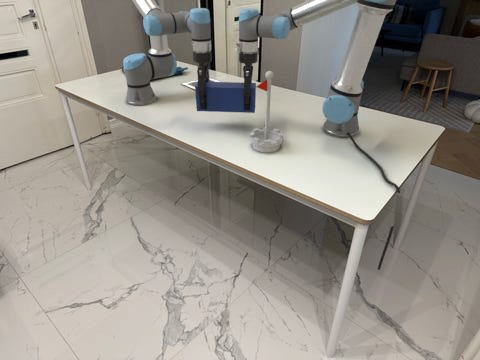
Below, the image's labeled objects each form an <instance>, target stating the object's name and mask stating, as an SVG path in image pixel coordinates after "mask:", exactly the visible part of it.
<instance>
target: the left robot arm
mask: <svg viewBox="0 0 480 360" xmlns="http://www.w3.org/2000/svg"><path fill="white" fill-rule="evenodd" d="M131 1H132V3H133V4H134V6H135V7H136V9H137V10H138V12H139V13H140V14H141V16H142V18H143V20H142V25H143V28H144V31H145V34H146V35H147V36H149V41H150V49H148V55H147V54H146V53H142V52H140V53H133V54H130V55H127V56H126V57H124V58H123V60H122V64H123V65H122V67H121V72H122V73H123V74H124V76H125V82H126V85H127V89H126V95H125V97H126V98H125V100H126V104H128V105H131V106H146V105H150V104H153V103H154V102H156V101H157V97H156V95H155V92H154V89H153V88H152V86H151V79H154V80H155V79H161V78H168V77H171V76H173V75H175V74H174V73H175V72H176V68H177V67H178V63H177V57H176V55H175V54H174V53H173V52H172V50H171V48H169V42H168V35H175V34H184V33H185V34H186V33H190V34H191V43H190V45H191V46H192V51H193V52H192V58H193V62H194V63H197V64H198V66H197V70H196V75H197V80H198V95H200V108H201V109H207V99H206V88H205V87H206V82H210V79H209V78H210V65H209V64H210V63H211V62H212V61H213V55H212V36H211V35H212V32H211V29H212V28H211V16H210V15H211V14H210V10H209V9H208V8H205V7H195V8H191V9H190V11H189V10H181V11H178V12H168V13H166V7H165V6H166V5H165V0H131Z"/></svg>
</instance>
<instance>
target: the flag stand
mask: <svg viewBox="0 0 480 360" xmlns="http://www.w3.org/2000/svg"><path fill="white" fill-rule="evenodd" d="M264 77H265V79H266V80H264V81H262V82H261V83H259V84H258V85H256V89H259V90H262V91H264V92H266V96H265V97H266V98H265V99H266V100H265V121H264V123H265V125H264V126H262V129H260V128H257V127H256V128H254V129H252V132H250V133H249V134H250V135H249V140H250V142H251V143H252V148H253V150H255V151H258V152H261V153H274V152H276V151H278V150H279V149H280V148H281V144H282V143H283V141H284V133H283V132H280V129H278V128H273V130H272V129H270V118H271V117H270V114H271V113H270V112H271V97H272V96H271V95H272V94H271V92H272V79H273V78H274V73H273V71H271V70H267V71H266V72H265V75H264Z"/></svg>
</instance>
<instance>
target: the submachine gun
mask: <svg viewBox="0 0 480 360" xmlns="http://www.w3.org/2000/svg"><path fill="white" fill-rule="evenodd" d="M187 70H189V68H188V67H181V66H177V68H176V72H175V73H174V75H177V74H183V73H184V72H185V71H187ZM150 81H155V79H150Z"/></svg>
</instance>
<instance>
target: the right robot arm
mask: <svg viewBox="0 0 480 360" xmlns="http://www.w3.org/2000/svg"><path fill="white" fill-rule="evenodd" d="M396 2H397V0H306V1H304V2H302V3H299V4H298V5H295V6H293V7H291V8H288V9H286V10H284V11H282V12H280V13H277V14H274V15H261V14H260V11H259V9H258V8H242V9H240V10H239V13H238V42H237V46H238V51H239V53H238V62H239V63H240V64H244V65H243V68H242V72H243V83H244V94H242V96H244V110H250V102H251V95H250V85H251V83H253V72H254V65H253V64H256V63H257V62H258V61H259V60H258V58H259V57H258V56H259V53H258V51H259V38H265V39H276V40H285V39H287V38H288V36H289V34H290V32H291V31H293V30H295V29H298V28H300V27H302V26H304V25H307V24H309V23H312V22H314V21H316V20H319V19H321V18H323V17H326V16H328V15H330V14H333V13H336V12H338V11H341V10H343V9H346V8H348V7H350V6H352V5H355V4H357V7H358V12H357V15H356V18H355V22H354V25H353V28H352V31H351V34H350V37H349V41H348V43H347V46H346V47H347V48H346V50H345V52H344V56H343V59H342V62H341V66H340V68H339V71H338V75H337V77H336V78H334V80H333V81H332V82H331V84H330V85H329V86H330V87H329V90H328V92H327V96H326V99H325V100H324V101H323V104H322V114H323V116H324V117H325V119H326V120H325V121H324V123H323V126H322V130H323V132H324V133H325V134H326V135H329V136H332V137H335V138H339V139H341V138H342V139H350V140H351V142H352V144H353V145H354V146H355V148H356V149H357V150H358V151H359V152H360V153H362V154H363V155H364V156H365V157H366V158H368V160H370V162H372V163H373V164H374V165H375V166H376V167H377V168H378V170H379V171H380V174H381V176H382V177H383V179H384V181H385V182H386V183H387V184H389V185H391V186H393V187H394V188H395V190H396V192H397V193H398V194H400V193H401V189H400V187H399V186H398V184H396V183H395V182H393V181H391V180H390V179H388V178H387V176H386V174H385V171H384V170H383V168H382V166H381V165H380V164H379V163H378V162H377V161H376V160H375V159H374V158H373V157H372V156H370V155H369V154H368V153H367V152H366V151H365V150H363V149H362V148H361V147H360V146H359V145H358V144H357V142H356V141H355V138H354V137H356V136H357V135H359V132H360V125H359V118H358V117H359V116H358V114H359V111H360V110H359V109H360V105H361V99H362V95H363V90H364V88H365V87H364V84H365V82H364V80H363V78H364V75H365V73H366V70H367V67H368V64H369V62H370V59H371V56H372V53H373V52H374V48H375V45H376V43H377V40H378V38H379V35H380V32H381V29H382V26H383V23H384V20H385V18H386V15H387V14H389V13H390V12H392V11H393V10H394V7H395V5H396ZM394 228H395V225H393V226H390V229H389V233H388V236H387V239H386V241H385V244H384V247H383V251H382V253H381V257H380V260H379V261H378V262H379V263H378V266H377V270H378V271H380V270H381V267H382V264H383V263H384V262H383V261H384V258H385V255H386V252H387V250H388V248H389V245H390V241H391V238H392V235H393V232H394Z"/></svg>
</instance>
